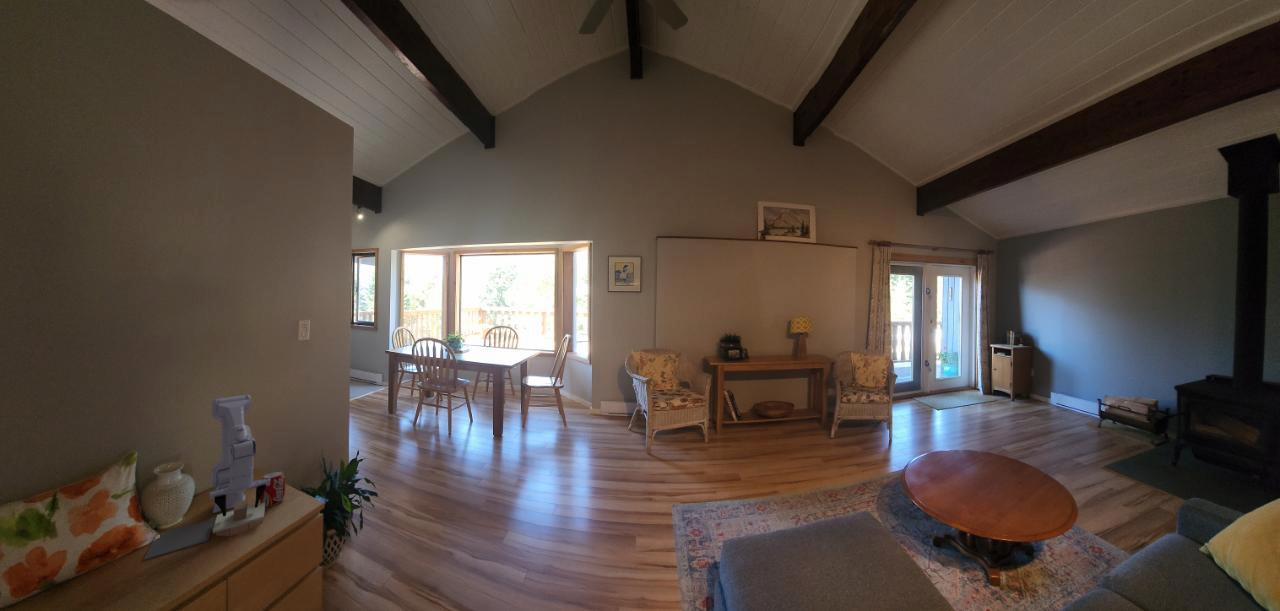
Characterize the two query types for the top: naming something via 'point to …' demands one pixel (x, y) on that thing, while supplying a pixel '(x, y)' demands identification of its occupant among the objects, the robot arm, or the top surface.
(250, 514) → the cover
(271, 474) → the soda can
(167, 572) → the top surface
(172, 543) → the mat
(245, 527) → the bowl
